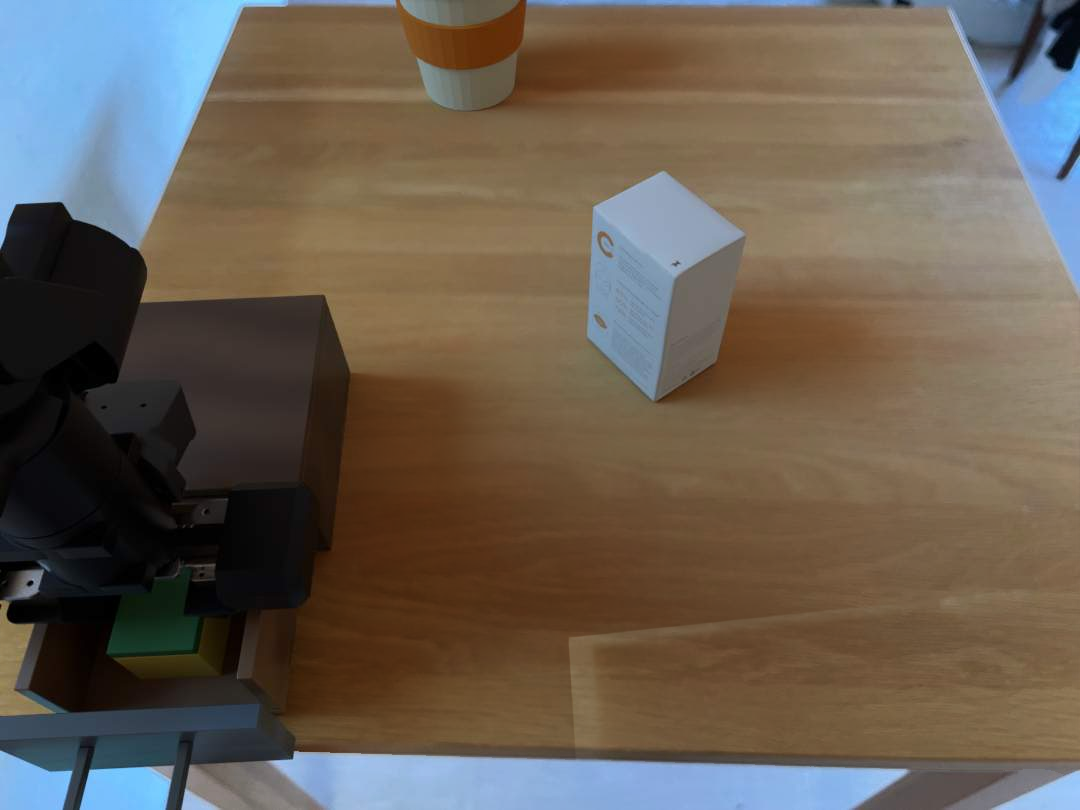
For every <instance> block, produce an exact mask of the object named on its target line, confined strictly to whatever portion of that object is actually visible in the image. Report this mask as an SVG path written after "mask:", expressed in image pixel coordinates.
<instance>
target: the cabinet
mask: <svg viewBox="0 0 1080 810" xmlns="http://www.w3.org/2000/svg"><path fill="white" fill-rule="evenodd" d="M167 379H170V380H176V381H178V382H179V383H180V384H181V387H182V390H183V392H184V395H185V398H186V401H187V404H188V407H189V410H190V413H191V416H192V419H193V422H194V425H195V428H196V436H195V438H194V439H193V440H191V441H190V443H189V445H188V447H187V449H186V451H185V453H184V455H183V457H182V459H181V461H180V462H179V464H178V466H177V467H176V468H177V469H178V471H179V472H180V473H181V475H182V476H183V477H184V479H185V480H186V486H185V491H184V495H183V497H191V496H213V495H229V493H230V490H231V489H233V488H234V487H235V486H236V485H238V484H242V483H264V482H285V481H304V482H305V483H306V484H307V485H308V486H309V487H310V488H311V489H312V490H313V491H314V493H315V495H316V497H317V499H318V501H319V503H320V505H321V511H320V520H319V528H318V536H317V545H316V552H317V551H318V552H319V551H331V550H332V545H333V536H334V526H335V517H336V509H337V508H336V507H337V499H338V490H339V482H340V481H339V480H340V473H341V472H340V471H341V463H342V453H343V445H344V435H345V428H346V427H345V426H346V417H347V407H348V401H349V400H348V399H349V391H350V379H351V370H350V367H349V364H348V360H347V358H346V354H345V351H344V348H343V346H342V342H341V340H340V336H339V334H338V331H337V329H336V325H335V322H334V319H333V316H332V313H331V310H330V307H329V304H328V301H327V298H326V295H325V294H305V295H284V296H283V295H282V296H280V295H279V296H261V297H259V296H258V297H237V298H236V297H235V298H213V299H192V300H190V299H189V300H172V301H171V300H170V301H169V300H168V301H149V302H146V301H145V302H140V305H139V308H138V312H137V315H136V318H135V322H134V325H133V329H132V332H131V336H130V339H129V342H128V346H127V349H126V353H125V356H124V360H123V363H122V367H121V370H120V373H119V377H118V380H117V382H122V381H144V380H167Z"/></svg>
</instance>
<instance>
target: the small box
mask: <svg viewBox="0 0 1080 810" xmlns="http://www.w3.org/2000/svg"><path fill="white" fill-rule="evenodd" d="M591 224H592V226H591V228H592V229H591V247H590V248H591V249H590V264H589V265H590V269H589V288H588V308H587V309H588V311H587V327H586V329H587V331H586V338H587V339H588V340H590V342H592V343H593V344H594V346H596V348H598V350H600V351H601V352H602V354H604V355H605V356H606V357H607V358H608V359H609V360H610V361H611V362H612V363H613V364H614V365H615V366H616V367H617V368H618V369H619V370H620V371H621V372H622V373H623V374H624V375H625V376H626V377H627V378H628V379H629V380H630V381H631V382H632V383H634V385H636V386H637V387H638V389H640V390H641V391H642V392H643V394H645V395H646V396H647V397H648V398H649V399H650V400H651V401H652V402H654V403H655V402H658V401H659V400H661V399H662V398H663V397H665V396H666V395H668V394H669V393H671V392H673V391H674V390H676V389H677V388H679V387H681V386H682V385H683V384H685V383H687V382H688V381H690V380H691V379H692V378H694V377H696V376H697V375H699V374H700V373H702V372H703V371H704V370H706V369H707V368H709V367H710V366H712V365H714V364H715V363H717V360H718V356H719V352H720V348H721V344H722V340H723V335H724V332H725V327H726V324H727V319H728V316H729V311H730V306H731V302H732V298H733V295H734V294H733V293H734V290H735V286H736V280H737V276H738V273H739V269H740V264H741V260H742V256H743V252H744V249H745V248H744V247H745V243H746V238H747V235H748V234H747V233H746V232H745V231H744V230H742V229H741V228H739V227H738V226H736V224H735V223H733V222H732V221H731V220H729V219H728V218H727V217H725V216H724V215H723V214H721V213H720V212H719V211H717V210H716V209H715V208H714V207H712V206H711V205H709V204H708V203H707V202H706V201H704V200H703V199H701V197H699V196H698V195H696V194H695V193H694V192H693V191H692V190H690V189H689V188H687V187H686V186H685V185H684V184H682V183H681V182H679V181H678V180H677V179H676V178H675V177H673V176H672V175H671V174H670V173H668V172H667V171H666V170H662V171H660V172H657V173H656V174H654V175H652V176H650V177H648V178H647V179H644V180H643V181H641V182H639V183H637V184H635V185H633V186H631V187H629V188H628V189H626V190H624V191H622V192H619V193H618V194H616V195H614V196H612V197H610V198H608V199H606V200H604V201H602V202H600V203H598V204H596V205H594V206H592V223H591Z"/></svg>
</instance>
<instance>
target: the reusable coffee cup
mask: <svg viewBox="0 0 1080 810" xmlns="http://www.w3.org/2000/svg"><path fill="white" fill-rule="evenodd" d="M527 1H528V0H395V4H396V8H397V11H398V14H399V18H400V22H401V25H402V29H403V31H404V35H405V39H406V42H407V46H408V48H409V50H410V51H411V53H412V55H414V56H415V57H416V61H417V65H418V68H419V71H420V74H421V78H422V80H423V86H424V87H425V91H426V94H427V95H428V97H429V99H431V100H432V101H433V102H434V103H436V104H437V105H439V106H441V107H444V108H446V109H450V110H455V111H462V112H468V111H469V112H471V111H473V112H474V111H478V110H485V109H488V108H491V107H494V106H496V105H498V104H500V103H501V102H504V101H505V100H506V99H507V98H508V97H509V96H510V95H511V94H512V93H513V90H514V87H515V83H516V72H517V62H518V61H517V60H518V49H519V48H520V46H521V44H522V42H523V39H524V32H525V23H526V22H525V21H526V14H527V13H526V11H527V3H528V2H527Z"/></svg>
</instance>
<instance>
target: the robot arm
mask: <svg viewBox="0 0 1080 810" xmlns="http://www.w3.org/2000/svg"><path fill="white" fill-rule="evenodd" d="M147 281H148V267H147V264H146V261H145V259H144V257H143V255H142V254H141V252H140V251H139V250H138V249H137V248H136V247H134V246H133V247H132V246H130V245H129V244H128V243H127V242H126V241H125V240H123V239H122V238H120V236H117V235H116V234H115V233H112V232H111V231H109V230H107V229H104V228H102V227H100V226H98V225H95V224H92V223H88V222H85V221H82V220H79V219H73V216H72V215H71V214H70V212H69V210H68V209H67V207H66V206H65V204H64V202H63V201H48V202H47V201H46V202H33V203H32V202H30V203H29V202H27V203H15V205H14V208H13V210H12V212H11V214H10V216H9V219H8V222H7V225H6V229H5V234H4V239H3V242H2V243H1V246H0V602H1V601H6V602H7V603H8V607H7V609H6V614H5V615H6V616H5V617H6V619H7V621H8V622H10V623H11V624H13V625H34V624H63V623H114V622H115V618H116V614H117V610H118V606H119V603H120V599H121V595H125V594H146V593H151V591H152V587H153V583H154V580H170V579H177V578H178V577H180V575H181V571H182V567H183V566H184V568H185V569H186V570H187V571H188V572H191V577H190V581H189V586H188V591H187V596H186V600H185V605H184V610H183V616H186V617H205V618H228V617H229V614H236V613H238V612H240V611H241V610H244V611H252V610H273V609H294V608H298V609H299V608H300V607H301V606H302V605H304V603H306V601H308V600H309V599H310V598H311V595H312V594H311V593H312V586H313V585H312V584H313V577H314V569H315V561H316V560H315V559H316V552H317V551H316V545H317V536H318V528H319V520H320V511H321V505H320V503H319V501H318V499H317V497H316V495H315V493H314V491H313V490H312V489H311V488H310V487H309V486H308V485H307V484H306V483H305V482H304V481H285V482H264V483H242V484H238V485H236V486H235V487H234V488H233V489H231V490H230V493H229V498H228V499H212V500H204V501H202V502H200V503H199V504H198V505H196V507H195V508H194V509H193V511H191V512H184V513H172V512H171V506H172V503H181V502H182V499H183V495H184V491H185V486H186V480H185V479H184V477H183V476H182V475H181V473H180V472H179V471H178V469H177V468H176V467H177V466H178V464H179V462H180V461H181V459H182V457H183V455H184V453H185V451H186V449H187V447H188V445H189V443H190V441H191V440H193V439H194V438H195V436H196V428H195V425H194V422H193V419H192V416H191V413H190V410H189V407H188V404H187V401H186V398H185V395H184V392H183V390H182V387H181V384H180V383H179V382H178V381H176V380H170V379H167V380H144V381H122V382H117V380H118V377H119V373H120V370H121V367H122V363H123V360H124V356H125V353H126V349H127V346H128V342H129V339H130V336H131V332H132V329H133V325H134V322H135V318H136V315H137V312H138V308H139V305H140V303H141V302H142V297H143V294H144V290H145V287H146V283H147ZM195 527H196V528H195ZM166 561H167V563H166ZM174 561H175V563H174ZM182 561H184V564H182ZM2 606H3V605H2V603H0V610H1V609H2Z"/></svg>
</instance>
